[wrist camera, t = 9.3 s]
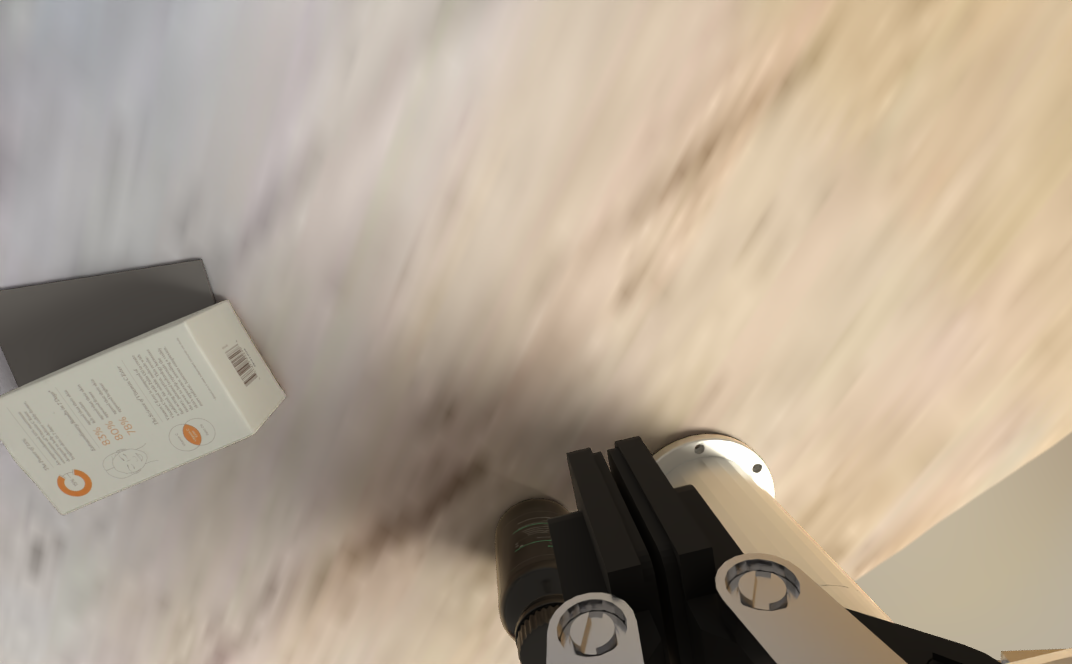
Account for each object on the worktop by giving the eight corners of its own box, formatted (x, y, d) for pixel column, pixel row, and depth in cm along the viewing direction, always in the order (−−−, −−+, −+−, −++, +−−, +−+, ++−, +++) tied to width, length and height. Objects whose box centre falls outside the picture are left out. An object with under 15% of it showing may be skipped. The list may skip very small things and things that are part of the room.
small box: (230, 296, 37) (51, 370, 36) (183, 319, 30) (-32, 407, 30) (289, 397, 39) (121, 467, 39) (257, 437, 33) (57, 519, 33)
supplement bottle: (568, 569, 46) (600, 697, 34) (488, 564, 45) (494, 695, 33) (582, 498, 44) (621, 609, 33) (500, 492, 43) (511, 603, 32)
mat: (253, 421, 39) (251, 422, 39) (53, 456, 38) (50, 458, 38) (201, 259, 36) (199, 259, 36) (-19, 293, 35) (-23, 294, 35)
